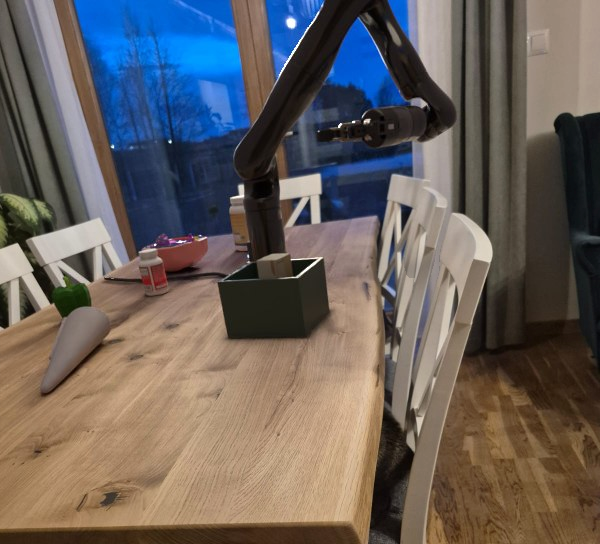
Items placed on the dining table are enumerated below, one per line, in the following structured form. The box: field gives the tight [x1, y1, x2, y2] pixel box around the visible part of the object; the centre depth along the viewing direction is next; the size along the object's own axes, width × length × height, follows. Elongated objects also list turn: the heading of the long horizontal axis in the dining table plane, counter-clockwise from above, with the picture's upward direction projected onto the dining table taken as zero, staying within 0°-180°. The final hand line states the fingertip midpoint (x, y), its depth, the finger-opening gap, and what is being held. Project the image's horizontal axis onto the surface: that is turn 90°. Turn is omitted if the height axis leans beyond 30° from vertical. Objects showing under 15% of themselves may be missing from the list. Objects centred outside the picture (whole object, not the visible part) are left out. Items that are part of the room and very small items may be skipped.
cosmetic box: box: [257, 252, 293, 279], centre depth 110 cm, size 6×4×12 cm
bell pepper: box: [51, 275, 93, 319], centre depth 135 cm, size 8×8×10 cm
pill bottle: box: [137, 249, 170, 297], centre depth 149 cm, size 6×6×11 cm
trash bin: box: [217, 257, 330, 339], centre depth 111 cm, size 16×16×11 cm
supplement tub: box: [228, 194, 249, 252], centre depth 192 cm, size 12×12×17 cm
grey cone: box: [39, 306, 112, 394], centre depth 105 cm, size 8×9×26 cm
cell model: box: [141, 233, 209, 273], centre depth 175 cm, size 17×20×11 cm
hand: (333, 134), depth 112 cm, fingers open, 8 cm apart
